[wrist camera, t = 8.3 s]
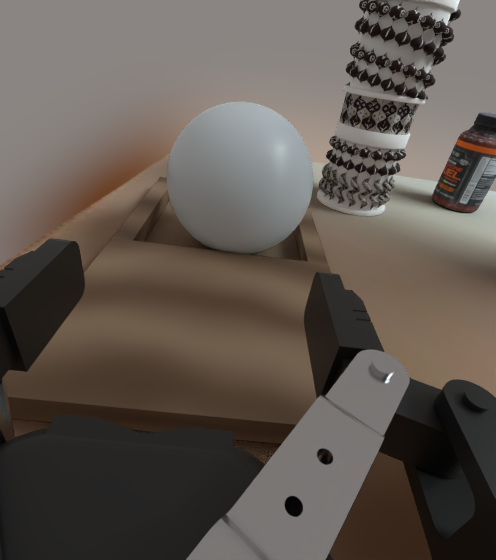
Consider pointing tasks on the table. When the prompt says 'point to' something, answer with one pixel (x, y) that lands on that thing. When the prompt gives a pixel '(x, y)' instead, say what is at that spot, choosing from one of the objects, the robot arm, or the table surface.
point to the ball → (240, 178)
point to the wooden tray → (181, 338)
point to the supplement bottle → (469, 167)
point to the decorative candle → (383, 99)
